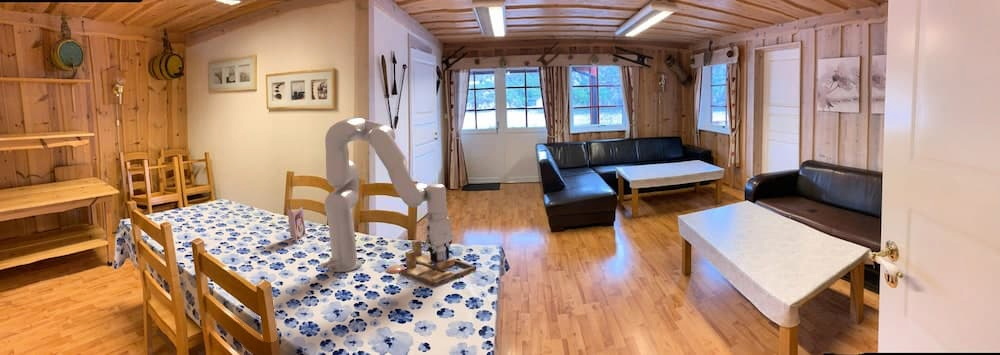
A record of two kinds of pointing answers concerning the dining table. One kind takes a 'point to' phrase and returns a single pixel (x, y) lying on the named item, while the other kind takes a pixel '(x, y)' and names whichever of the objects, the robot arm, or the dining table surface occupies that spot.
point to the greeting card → (296, 224)
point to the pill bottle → (440, 254)
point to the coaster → (395, 269)
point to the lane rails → (440, 274)
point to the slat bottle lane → (428, 256)
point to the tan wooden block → (412, 264)
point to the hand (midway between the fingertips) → (440, 259)
